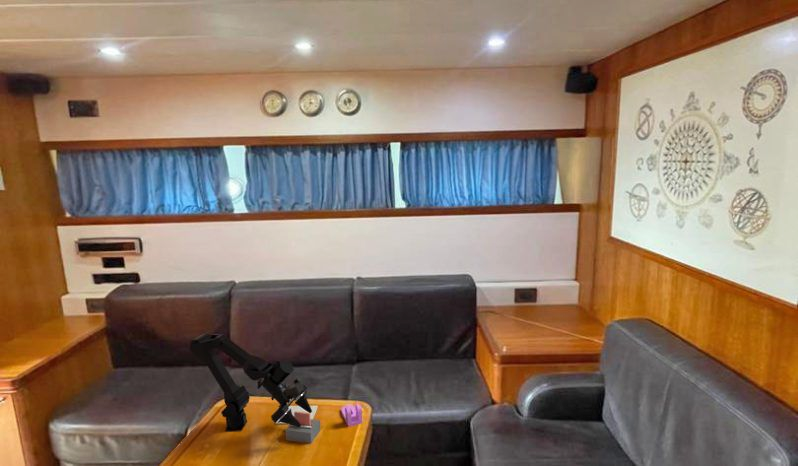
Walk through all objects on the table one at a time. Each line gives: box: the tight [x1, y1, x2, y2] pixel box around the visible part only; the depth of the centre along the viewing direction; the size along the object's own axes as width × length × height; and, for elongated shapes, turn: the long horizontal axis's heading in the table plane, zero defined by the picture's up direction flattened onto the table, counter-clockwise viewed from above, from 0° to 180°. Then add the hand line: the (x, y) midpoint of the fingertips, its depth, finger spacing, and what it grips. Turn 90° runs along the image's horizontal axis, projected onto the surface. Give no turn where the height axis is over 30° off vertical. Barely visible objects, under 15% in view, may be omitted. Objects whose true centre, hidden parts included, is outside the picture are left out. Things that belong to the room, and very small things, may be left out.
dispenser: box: [285, 419, 321, 444], centre depth 166 cm, size 10×8×5 cm
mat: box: [274, 405, 319, 425], centre depth 179 cm, size 14×12×1 cm
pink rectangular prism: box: [294, 411, 311, 426], centre depth 165 cm, size 6×1×9 cm, turn 76°
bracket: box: [340, 403, 363, 427], centre depth 177 cm, size 13×6×7 cm, turn 22°
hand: (305, 419), depth 165 cm, fingers open, 9 cm apart
